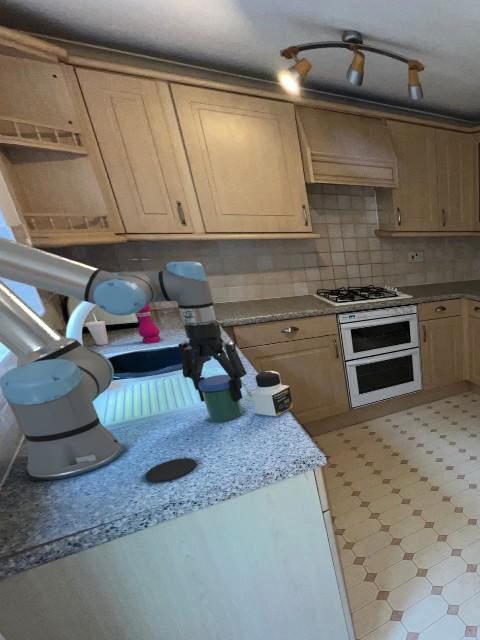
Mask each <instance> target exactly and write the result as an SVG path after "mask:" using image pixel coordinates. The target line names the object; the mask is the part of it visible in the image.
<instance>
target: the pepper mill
mask: <svg viewBox="0 0 480 640" xmlns="http://www.w3.org/2000/svg"><path fill="white" fill-rule="evenodd" d="M150 310H151V305H150V303H149V304H148V305H146V306H145V307H144V308H143V309H142V310H140V311H139V312H136V313H135V316H136V317H137V318H138V319H139V327H138V335H139V336H140V337H142V343H144V344H155V343H158V342H161V341H162V339H161V336H159V335H160V334H161V332H160V329H159V328H158V327H157V325H156V324H155V323H154V322H153V321H152V318H151V315H152V313H151V311H150Z"/></svg>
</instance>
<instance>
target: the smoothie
mask: <svg viewBox="0 0 480 640" xmlns="http://www.w3.org/2000/svg"><path fill="white" fill-rule="evenodd" d="M91 313H92V316H93V318H94V321H89V322H86V323H84V325H85V326H86V327H87V329H88V331H89V333H90V334H91V336H92V338H93V340H94V342H95V344H96V345H97V346H103V345H104V346H105V345H108V344H109V338H108V333H107V328H106V321H105V320H97V317H96V315H95V312H91Z"/></svg>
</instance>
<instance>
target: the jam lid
mask: <svg viewBox="0 0 480 640" xmlns="http://www.w3.org/2000/svg"><path fill="white" fill-rule="evenodd" d="M230 379H231V378H230V376H229V375H228V374H217V375H211V376H208V377H205V379H202V380H200V381H199V382H198V384H199V388H200V390H201V391H207V392H211V391H219V390H224V389H227V388H230V384H229V380H230Z"/></svg>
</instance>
